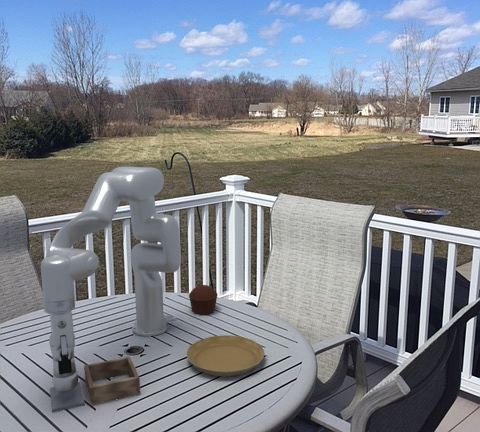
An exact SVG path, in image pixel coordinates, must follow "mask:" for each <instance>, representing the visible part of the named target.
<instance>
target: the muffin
mask: <svg viewBox="0 0 480 432" xmlns="http://www.w3.org/2000/svg"><path fill="white" fill-rule="evenodd" d="M218 296H219V295H218V292H217V291H216V290H215V289H214V288H213V287H212V286H210V285H207V284H200V285H196V286H195V287H194V288H193V289H192V290H191V291H190V293H189V294H188V297H189V303H190V307H191V312H192V313H193V314H194V315H198V316H208V315H210V314H212V315H213V314H214V313H215V311H216V306H217V298H218Z"/></svg>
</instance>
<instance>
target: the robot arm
mask: <svg viewBox="0 0 480 432" xmlns="http://www.w3.org/2000/svg"><path fill="white" fill-rule="evenodd" d="M164 178H165V177H164V175H163V172H162V171H161V170H160V169H159V168H156V167H146V166H145V167H144V166H143V167H141V166H119V167H116V168H113V169H112V171H109V172H104V173H102V174H101V175H100V176H98V178H97V180H96V181H95V182H96V183H95V185H94V187H93V188H92V191H91V192H90V195H89V197H88V199H87V201H86V203H85V205H84V208H83V209H82V211H81V213H79V214H78V215H76V216H74V217H73V218H72V219H70V221H68V222H67V223H65V224H63V226H62V227H60V229H59V230H58V231H57V232H56V233H55V235H54V237H53V239H52V241H51V242H50V245H49V247H48V249H47V252H46V254H45V258H43V259H42V261H41V262H40V274H41V284H42V285H41V286H42V288H41V289H42V297H43V310H44V313H46V314H48V315H49V321H50V329H51V333H52V336H53V341H54V346H55V350H57V351H58V356H59V360H58V369H59V374H60V375H61V374H66V373H71V372H72V365H71V358H70V351H69V346H70V348H72V347H73V348H74V349H75V347H76V340H75V341H74V335H75V331H74V321H73V313H72V311H74V310H75V308H76V301H75V286H74V284H75V283H74V282H75V281H78V280H82V279H87V278H88V277H91V276H93V275H94V274H95V273H96V272H97V271H98V269H99V265H100V259H99V257H98V254H96V253H95V252H94V251H92V250H89V249H84V248H83V249H81V248H73V245H75V243H77V242H78V241H79V240H80V239H82V238H84V237H85V236H86V237H87V236H89V235H91V234H94V233H96V232H99V231H102V230H105V229H106V228H108V227H109V226H110V225H111V224H112V222H113V219H114V217H115V214H116V212H117V210H118V208H119V205H120V204H121V202H128V204H129V213H130V222H131V231H132V234H133V237H134V238H135V239H136V240H139V241H144V242H140V243H137V244H135V245H134V246H133V247H132V249H131V250H130V251H131V252H130V263H131V266H132V269H133V270H132V272H133V276H134V278H133V279H134V294H135V318H136V320H135V321H136V322H135V323H134V324H133V325H132V328H131V329H132V332H133V333H134V334H135V335H137V336H140V337H154V336H158V335H161V334H163V333H165V332H166V331H168V329H169V323H172V322H177V321H178V317H177V316H176V315H174V316H173V315H172V314H167V315H165V314H164V296H163V295H164V293H163V292H164V291H163V287H164V286H163V279H162V276H161V274H160V273H166V274H168V273H169V274H172V273H176V272H177V271H178V270H179V268H181V264H182V251H181V250H182V249H181V235H180V228H179V223H178V221H177V219H176V217H175V216H173V215H171V214H166V213H165V214H164V213H163V214H161V213H158V212H157V208H156V201H155V197H154V196H156V195H158V194H159V193H161V191H162V189H163V187H164V184H165V179H164ZM160 243H161V244H160ZM61 323H62V324H61ZM60 339H61V340H60ZM60 345H61V348H60V349H59V346H60ZM66 345H67V346H68V347H67V346H66ZM60 351H62V353H60Z"/></svg>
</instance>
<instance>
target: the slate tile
mask: <svg viewBox="0 0 480 432" xmlns="http://www.w3.org/2000/svg"><path fill="white" fill-rule="evenodd" d="M49 394H50V405H51V412H52V413H55V412H61V411H63V410H69V409H73V408H77V407H82V406H85V398H84V394H83V389H82V385H81V381H78V384H77V386H76V388H75V389H73V390H71V391H69V392H64V393H61V392H57V391H56V390H55V389H54V386H53V387H49Z"/></svg>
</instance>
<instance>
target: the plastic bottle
mask: <svg viewBox="0 0 480 432" xmlns="http://www.w3.org/2000/svg"><path fill="white" fill-rule="evenodd" d="M61 324H62V323H61ZM60 340H61V339H60ZM74 341H75V342H76V335H75V334H74ZM48 344H49V347H50V351H51V356H52V357H51V358H52V362H53V365H52V366H53V374H52V386H53V387H54V389H55V390H56V391H57V392H61V393H64V392H69V391H71V390H73V389H75V388H76V386H77V384H78V382H79V374H78V370H77V367H76V361H75V347H74V348H73V347H72V348H70V346H69V351H70V358H71V365H72V372H71V373H66V374H61V375H60V374H59V369H58V360H59V356H58V351H57V350H55V346H54V341H53V336H52V332H51V334H50V335H49V338H48ZM66 346H67V345H66ZM67 347H68V346H67ZM60 348H61V345H60V346H59V349H60ZM60 353H62V351H60Z"/></svg>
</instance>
